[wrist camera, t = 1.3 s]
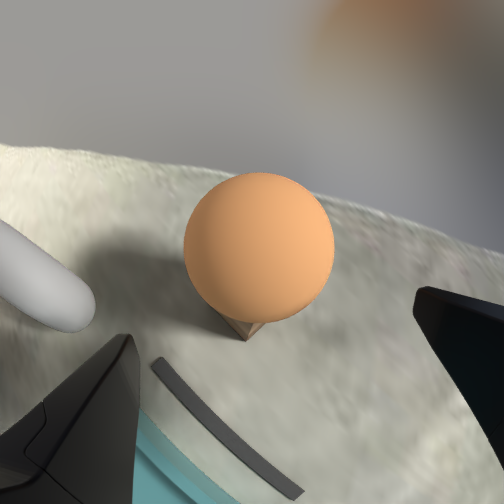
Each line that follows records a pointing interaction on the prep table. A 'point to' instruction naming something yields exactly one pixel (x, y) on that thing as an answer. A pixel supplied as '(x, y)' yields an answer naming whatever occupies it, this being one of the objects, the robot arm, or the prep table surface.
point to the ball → (258, 247)
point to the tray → (169, 472)
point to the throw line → (225, 431)
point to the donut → (42, 284)
